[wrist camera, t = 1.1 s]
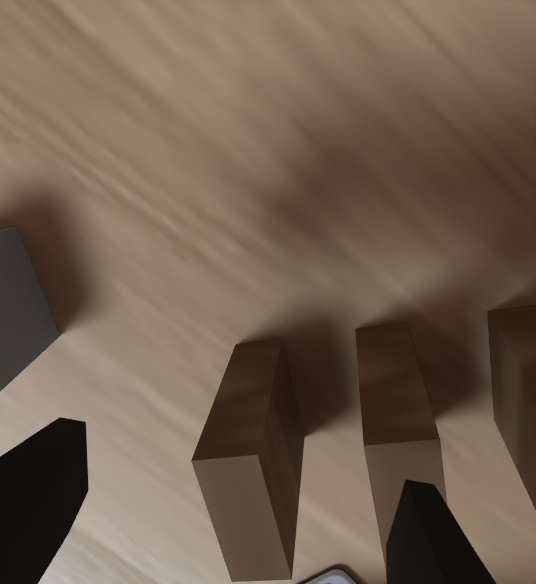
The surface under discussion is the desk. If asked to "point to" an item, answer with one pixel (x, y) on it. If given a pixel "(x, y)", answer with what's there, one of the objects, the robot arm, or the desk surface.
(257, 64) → the desk surface
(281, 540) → the domino
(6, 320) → the domino
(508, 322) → the domino
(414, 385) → the domino
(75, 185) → the desk surface
